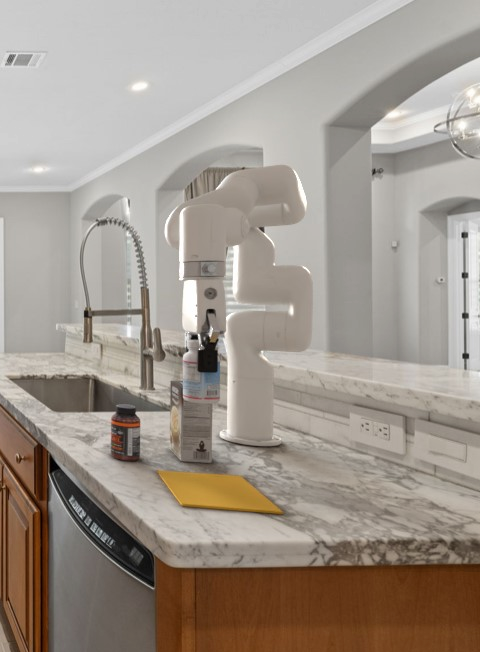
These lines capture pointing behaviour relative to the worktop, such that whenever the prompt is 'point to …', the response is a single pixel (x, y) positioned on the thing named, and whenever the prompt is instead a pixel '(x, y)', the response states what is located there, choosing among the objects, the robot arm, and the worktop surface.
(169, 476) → the cloth
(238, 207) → the robot arm
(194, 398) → the pill bottle
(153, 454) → the worktop surface
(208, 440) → the coffee box
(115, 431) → the supplement bottle
